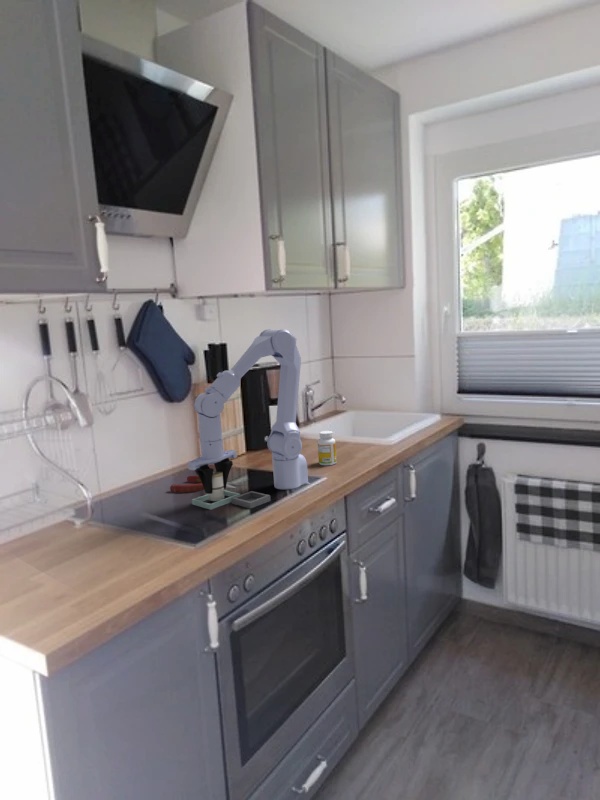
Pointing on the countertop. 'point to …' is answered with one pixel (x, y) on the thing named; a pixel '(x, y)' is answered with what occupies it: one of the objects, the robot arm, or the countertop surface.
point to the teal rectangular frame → (200, 502)
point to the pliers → (194, 486)
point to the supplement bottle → (326, 448)
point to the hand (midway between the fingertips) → (215, 490)
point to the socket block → (251, 499)
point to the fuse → (217, 486)
